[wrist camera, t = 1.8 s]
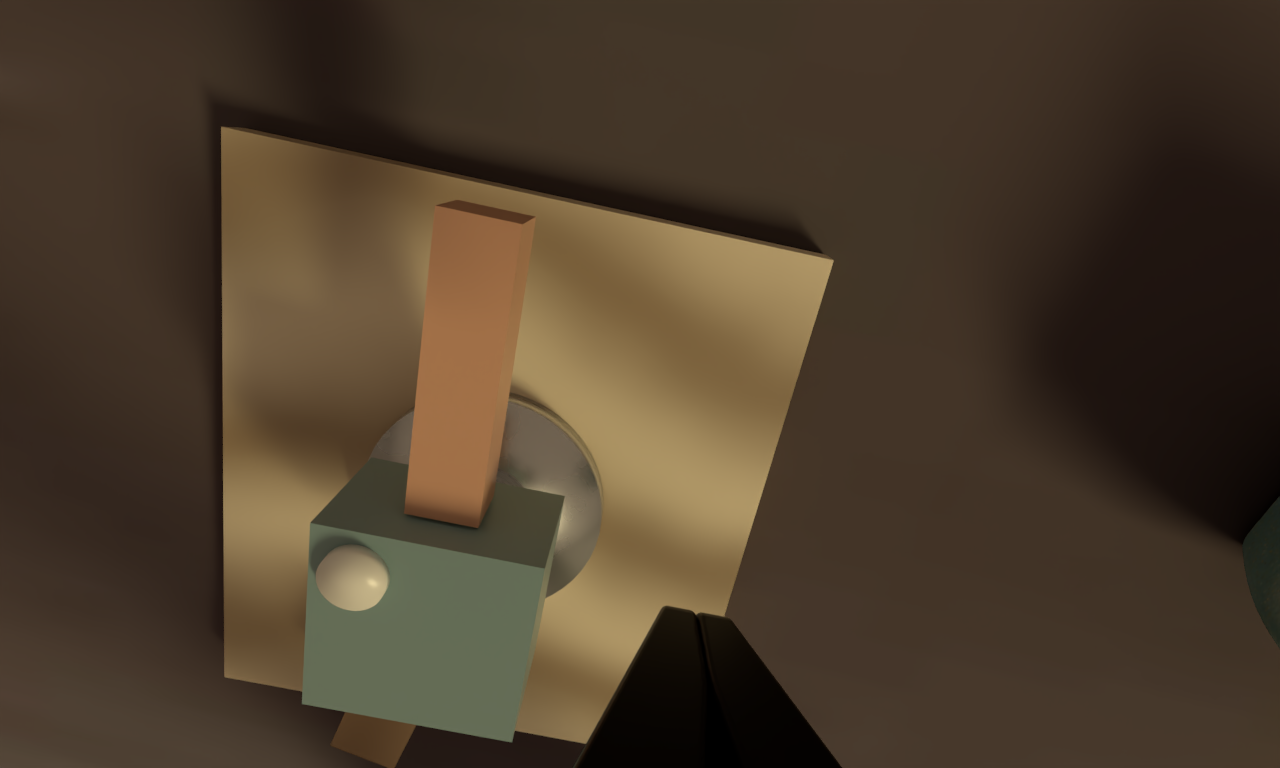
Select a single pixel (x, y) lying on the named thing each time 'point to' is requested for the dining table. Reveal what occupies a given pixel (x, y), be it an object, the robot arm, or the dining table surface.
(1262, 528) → the flower pot
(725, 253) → the board
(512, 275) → the cap
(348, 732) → the block
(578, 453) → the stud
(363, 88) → the dining table surface
